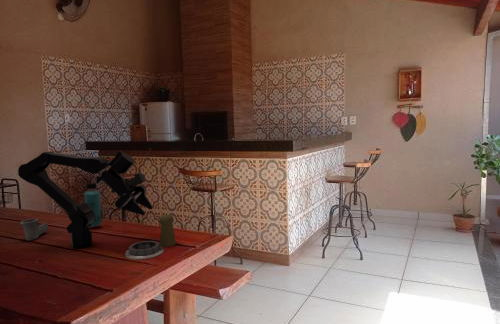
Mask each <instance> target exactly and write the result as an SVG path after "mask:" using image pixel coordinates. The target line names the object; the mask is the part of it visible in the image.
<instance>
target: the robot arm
mask: <svg viewBox="0 0 500 324" xmlns="http://www.w3.org/2000/svg"><path fill="white" fill-rule="evenodd" d="M135 163H136V161H135V158H133V157H132V156H131V155H129V154H127V153H126V152H123V151H122V150H119V151H118V152H117V153H116V155H114V157H113V158H112V159H106V158H105V157H103V156H83V157H82V156H77V155H70V154H64V153H58V152H53V151H44V152H42V153H40V154H39V155H37V156H36V157H34V158H33V159H32V160H29V161H28V162H26V163H23V164H21V165H20V166H18V170H17V175H18V177H20V179H22V180H23V181H25V182H27V183H28V184H31V185H35V186H36V187H38V188H39V189H40V190H41V191H42V192H44V193H45V194H46V195H47V196H48V197H49V198H51V199H52V200H53V201H54V202H55V203H56V204H57V205H58V206H60V207H61V208H62V209H63V210H64V211H65V212H66V214H67V216H68V219H69V220H70V224H68V225H67V226H66V231H67V233H68V234H70V240H71V243H70V246H71V248H72V249H73V250H76V249H77V250H78V249H82V248H87V247H92V246H93V233H92V231H91V229H90V228H91V227H92V226H91V225H92V222H93V221H94V220H95V212H94V211H93V208H91V207H89V206H88V204H87V203H85V202H83V203H78V202H77V201H76V200H75V199H74V198H73V197H72V196H70V195H69V194H68V193H67V192H66V191H64V189H62V188H61V187H60V186H59V185H57V183H55V182H54V180H52V179H51V178H50V177H49V174H48V172H47V171H48V170H46V169H48V167H50V165H51V164H52V165H58V166H65V167H72V168H77V169H80V170H82V171H83V172H87V173H89V174H92V175H95V174H99V173H101V174H100V175H96V176H95V179H96V180H95V181H96V182H95V183H96V185H98V184H101V183H102V182H103V183H104V184H106V186H107V187H109V189H111V192H110V193H112V194H114V193H115V194H116V195H117V196H119V197H118V198H117V199H116V201H114V206H115V207H116V208H117V209H118V210H123V211H126V212H131V213H135V214H138V215H141V216H144V215H145V214H146V212H145V210H144V209H143V208H142V207H145V208H147V209H148V210H152V209H153V208H154V206H153V205H152V204H151V202H150V200H149V199H148V197H147V195H146V194H147V193H146V192H147V187H146V186H145V185H144V184H143V183H145V182H146V181H147V180H146V176H145V174H143V173H140V172H137V173H135V174H134V176H133V177H132V178H130V179H129V178H124V177H123V176H122V174H123V175H125V174H127V172H128V171H129V170H130V169H131V167H133V165H134V164H135ZM140 205H141V206H142V207H141V206H140Z"/></svg>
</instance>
